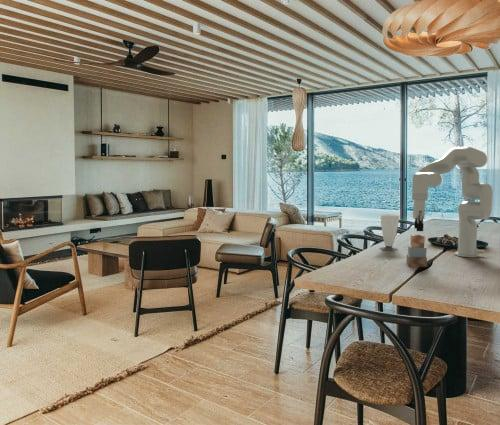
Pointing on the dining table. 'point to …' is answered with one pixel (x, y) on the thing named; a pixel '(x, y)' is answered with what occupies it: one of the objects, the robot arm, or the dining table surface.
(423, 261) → the tower base
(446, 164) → the robot arm
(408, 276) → the dining table surface
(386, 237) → the cup
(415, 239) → the terracotta cube
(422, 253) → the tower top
